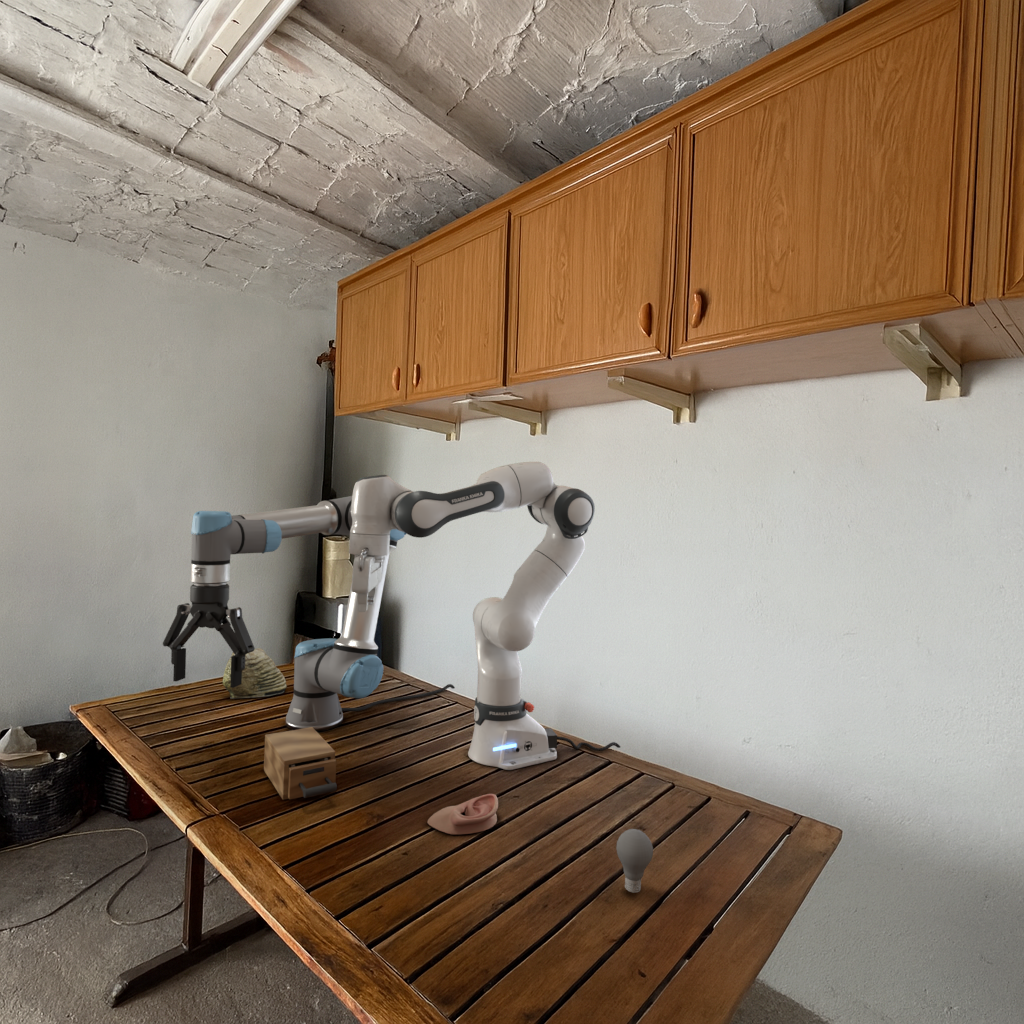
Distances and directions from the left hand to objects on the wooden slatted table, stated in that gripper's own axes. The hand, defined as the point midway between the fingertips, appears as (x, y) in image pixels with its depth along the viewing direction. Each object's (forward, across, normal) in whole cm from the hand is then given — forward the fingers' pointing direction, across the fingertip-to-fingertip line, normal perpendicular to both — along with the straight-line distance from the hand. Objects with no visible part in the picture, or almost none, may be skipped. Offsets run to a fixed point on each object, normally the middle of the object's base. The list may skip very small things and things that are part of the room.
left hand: (207, 682), depth 135 cm
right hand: (-16, +30, +14) cm, 36 cm away
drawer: (+22, +21, +5) cm, 30 cm away
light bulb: (+23, +90, -13) cm, 94 cm away
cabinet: (+23, +17, +9) cm, 30 cm away
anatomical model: (+23, +57, +1) cm, 61 cm away
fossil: (+23, -26, +58) cm, 68 cm away
